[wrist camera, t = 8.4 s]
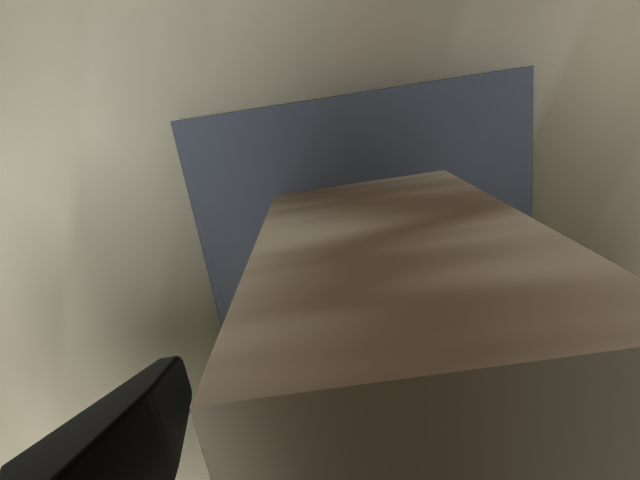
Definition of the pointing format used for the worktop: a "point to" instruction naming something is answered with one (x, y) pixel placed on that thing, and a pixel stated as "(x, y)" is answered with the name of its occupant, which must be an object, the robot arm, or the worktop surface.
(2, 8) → the worktop surface
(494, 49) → the worktop surface
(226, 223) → the rubber mat
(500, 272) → the beech block
